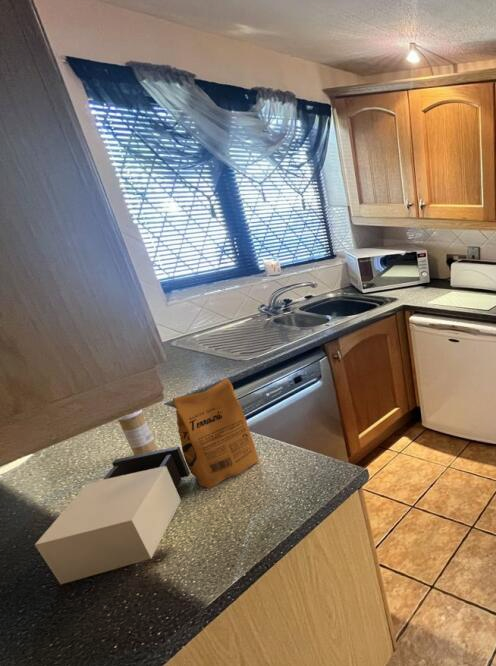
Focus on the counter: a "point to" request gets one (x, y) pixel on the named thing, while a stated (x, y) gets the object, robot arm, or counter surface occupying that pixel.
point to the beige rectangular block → (110, 525)
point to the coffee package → (214, 434)
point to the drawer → (152, 464)
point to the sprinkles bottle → (137, 433)
